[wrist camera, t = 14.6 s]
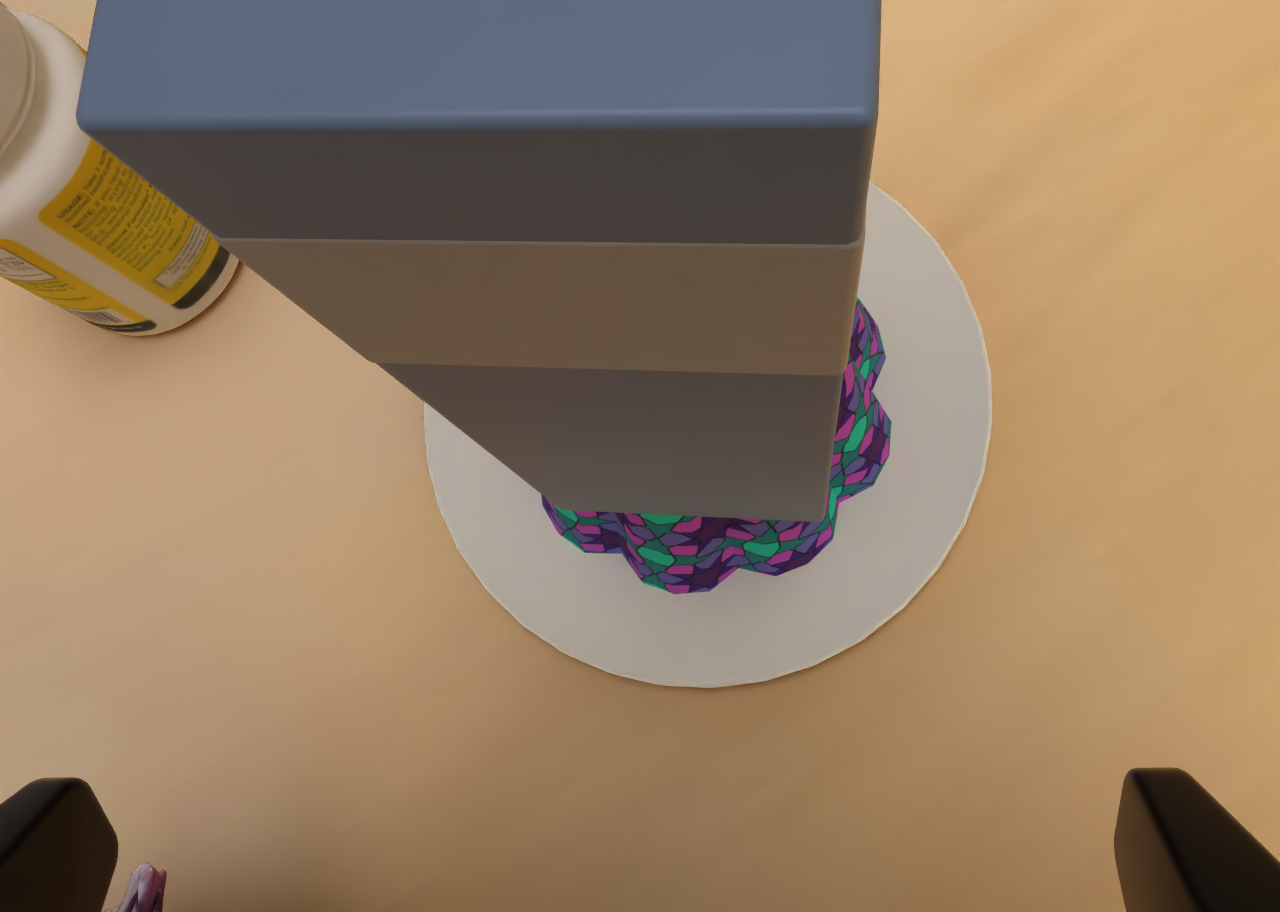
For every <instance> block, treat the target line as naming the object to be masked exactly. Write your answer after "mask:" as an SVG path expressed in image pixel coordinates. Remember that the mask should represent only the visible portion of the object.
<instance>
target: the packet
mask: <svg viewBox="0 0 1280 912" xmlns="http://www.w3.org/2000/svg"><path fill="white" fill-rule="evenodd" d="M880 34H881V0H97V3H96V8H95V14H94V19H93V24H92V30H91V35H90V40H89V46H88V51H87V56H86V61H85V67H84V72H83V77H82V83H81V88H80V93H79V99H78V104H77V109H76V120H77V124H78V126H79V128H80V130H82V131H83V132H84V133H85V134H87V135H88V136H89V137H90V138H92V139H93V140H94V141H95V142H97V143H98V144H99V145H101V146H102V147H103V148H104V149H106V150H107V151H108V152H109V153H111V154H112V155H113V156H114V157H116V158H117V159H118V160H120V161H121V162H122V163H123V164H125V165H126V166H127V167H128V168H130V169H131V170H132V171H133V172H135V173H136V174H137V175H138V176H140V177H141V178H142V179H144V180H145V181H146V182H147V183H149V184H150V185H151V186H152V187H154V188H155V189H156V190H157V191H159V192H160V193H161V194H163V195H164V196H165V197H166V198H168V199H169V200H170V201H171V202H173V203H174V204H175V205H176V206H178V207H179V208H180V209H181V210H183V211H184V212H185V213H187V214H188V215H189V216H190V217H192V218H193V219H194V220H195V221H197V222H198V223H199V224H200V225H202V226H203V227H204V228H206V229H207V230H208V231H209V232H211V234H212V237H213V239H214V240H215V241H216V242H217V243H218V244H220V245H221V246H222V247H224V248H225V249H226V250H227V251H229V252H230V253H231V254H233V255H234V256H235V257H236V258H238V259H239V260H240V261H241V262H243V263H244V264H245V265H247V266H248V267H249V268H250V269H252V270H253V271H254V272H256V273H257V274H258V275H259V276H261V277H262V278H263V279H264V280H266V281H267V282H268V283H270V284H271V285H272V286H273V287H275V288H276V289H277V290H279V291H280V292H281V293H282V294H284V295H285V296H286V297H287V298H289V299H290V300H291V301H293V302H294V303H295V304H296V305H298V306H299V307H300V308H302V309H303V310H304V311H305V312H307V313H308V314H309V315H310V316H312V317H313V318H314V319H316V320H317V321H318V322H319V323H321V324H322V325H323V326H325V327H326V328H327V329H328V330H330V331H331V332H332V333H333V334H335V335H336V336H337V337H339V338H340V339H341V340H342V341H344V342H345V343H346V344H348V345H349V346H350V347H351V348H353V349H354V350H355V351H356V352H358V353H359V354H360V355H362V356H363V357H364V358H365V359H367V360H369V361H371V362H373V363H376V364H377V365H379V366H380V367H381V368H383V369H384V370H385V371H386V372H388V373H389V374H390V375H391V376H393V377H394V378H395V379H396V380H398V381H399V382H400V383H402V384H403V385H404V386H405V387H407V388H408V389H409V390H410V391H412V392H413V393H414V394H415V395H417V396H418V397H419V398H420V399H422V400H423V401H424V402H426V403H427V404H428V405H429V406H431V407H432V408H433V409H434V410H436V411H437V412H438V413H439V414H441V415H442V416H443V417H445V418H446V419H447V420H448V421H450V422H451V423H452V424H453V425H455V426H456V427H457V428H458V429H460V430H461V431H462V432H463V433H465V434H466V435H467V436H469V437H470V438H471V439H472V440H474V441H475V442H476V443H477V444H479V445H480V446H481V447H482V448H484V449H485V450H486V451H488V452H489V453H490V454H491V455H493V456H494V457H495V458H496V459H498V460H499V461H500V462H501V463H503V464H504V465H505V466H506V467H508V468H509V469H510V470H512V471H513V472H514V473H515V474H517V475H518V476H519V477H520V478H522V479H523V480H524V481H525V482H527V483H528V484H529V485H531V486H532V487H533V488H534V489H536V490H537V491H538V492H539V493H541V494H542V495H543V496H544V497H546V498H547V499H548V500H549V501H551V502H552V503H553V504H555V505H556V506H557V507H558V508H560V509H562V510H575V511H596V512H617V513H638V514H659V515H680V516H701V517H722V518H743V519H764V520H785V521H806V522H820V521H823V519H824V516H825V508H826V501H827V493H828V486H829V478H830V471H831V463H832V456H833V449H834V441H835V434H836V426H837V419H838V411H839V404H840V396H841V389H842V381H843V374H844V371H845V369H846V367H847V363H848V356H849V348H850V341H851V334H852V327H853V320H854V313H855V306H856V299H857V292H858V285H859V278H860V271H861V264H862V256H863V249H864V242H865V227H866V202H867V194H868V187H869V179H870V172H871V164H872V157H873V149H874V142H875V134H876V127H877V120H878V103H879V69H880Z"/></svg>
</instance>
